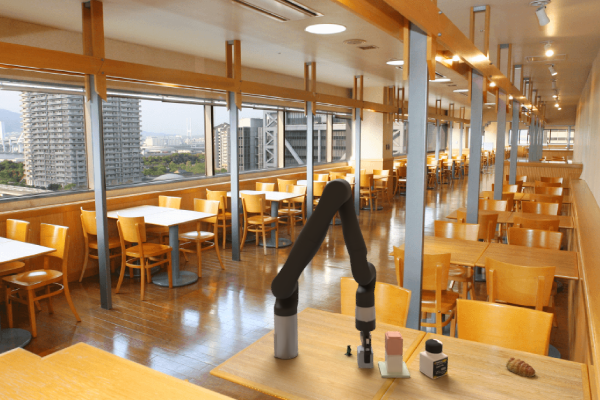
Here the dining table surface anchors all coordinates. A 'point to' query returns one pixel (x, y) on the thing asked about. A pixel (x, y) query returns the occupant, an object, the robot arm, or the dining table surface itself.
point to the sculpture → (348, 351)
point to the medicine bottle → (433, 359)
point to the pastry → (520, 367)
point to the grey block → (361, 358)
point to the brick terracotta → (393, 343)
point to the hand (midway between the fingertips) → (365, 357)
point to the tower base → (393, 374)
